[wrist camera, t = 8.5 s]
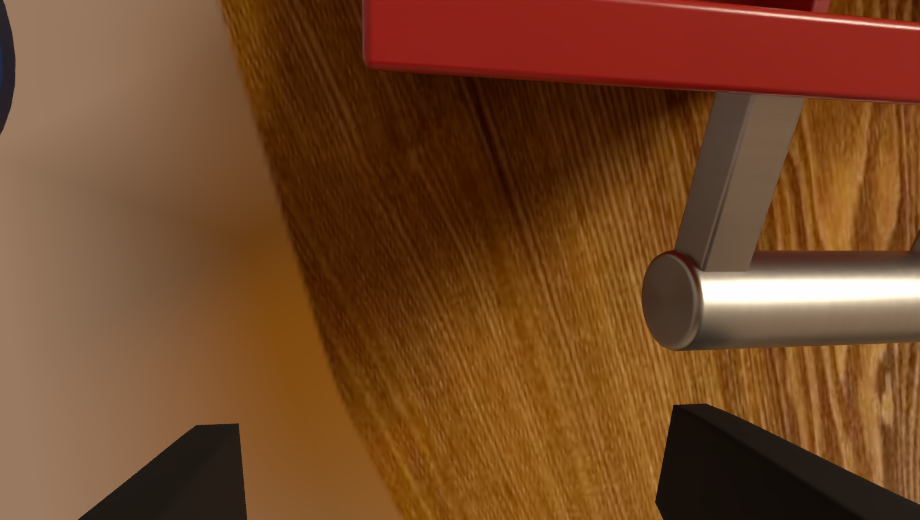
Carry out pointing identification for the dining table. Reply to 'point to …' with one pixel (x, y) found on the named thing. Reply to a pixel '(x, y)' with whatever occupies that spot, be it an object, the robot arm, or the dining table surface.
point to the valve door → (704, 142)
